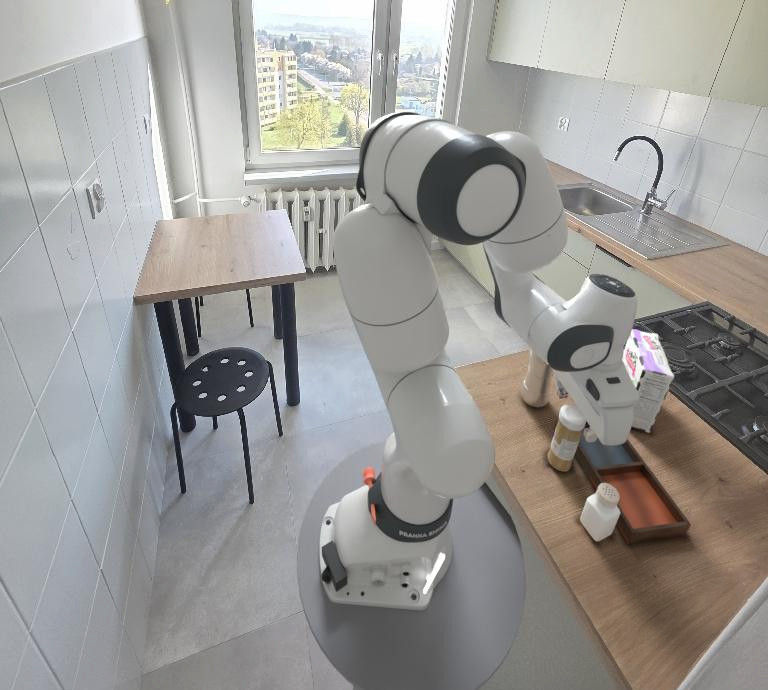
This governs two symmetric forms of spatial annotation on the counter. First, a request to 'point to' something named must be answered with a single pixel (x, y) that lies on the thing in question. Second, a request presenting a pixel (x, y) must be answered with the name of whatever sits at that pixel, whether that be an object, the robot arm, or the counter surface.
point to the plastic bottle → (537, 381)
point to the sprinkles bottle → (566, 437)
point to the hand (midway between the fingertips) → (574, 415)
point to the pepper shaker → (601, 512)
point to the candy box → (647, 376)
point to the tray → (632, 491)
